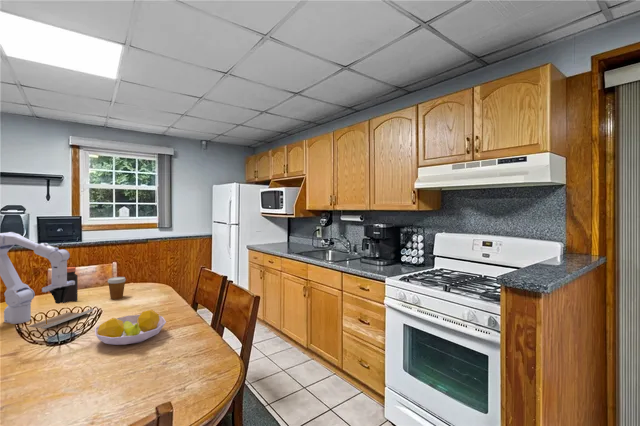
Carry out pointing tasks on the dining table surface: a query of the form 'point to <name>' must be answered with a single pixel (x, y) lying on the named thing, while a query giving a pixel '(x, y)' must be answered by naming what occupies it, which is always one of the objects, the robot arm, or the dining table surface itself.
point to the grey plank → (67, 319)
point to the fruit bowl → (130, 328)
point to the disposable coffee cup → (116, 287)
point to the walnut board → (52, 320)
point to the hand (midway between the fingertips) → (59, 303)
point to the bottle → (71, 286)
